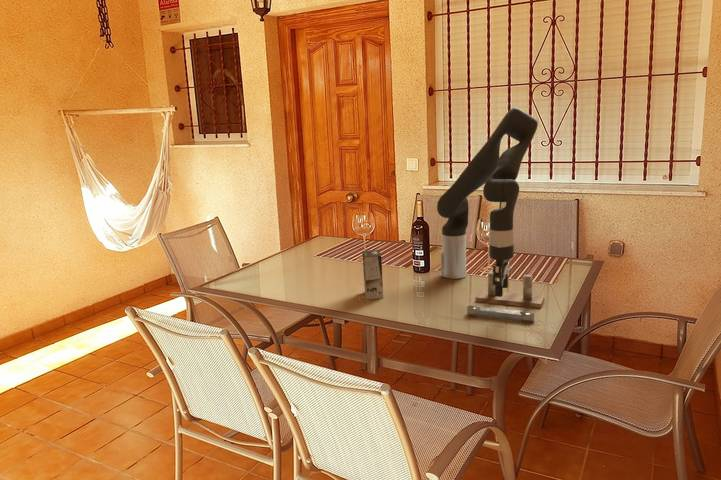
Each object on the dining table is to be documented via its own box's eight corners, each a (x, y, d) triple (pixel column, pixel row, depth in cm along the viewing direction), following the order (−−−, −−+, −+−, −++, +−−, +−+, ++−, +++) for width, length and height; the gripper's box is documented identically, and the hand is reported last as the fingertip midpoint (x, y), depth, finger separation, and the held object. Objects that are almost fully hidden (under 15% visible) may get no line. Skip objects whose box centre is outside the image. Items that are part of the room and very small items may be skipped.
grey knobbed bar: (465, 316, 191) (465, 309, 191) (469, 311, 195) (469, 304, 195) (532, 324, 182) (533, 316, 182) (535, 319, 186) (535, 311, 186)
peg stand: (475, 301, 204) (475, 275, 202) (480, 293, 211) (480, 268, 209) (540, 308, 195) (541, 281, 192) (544, 300, 202) (544, 273, 199)
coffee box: (383, 298, 212) (381, 255, 208) (366, 299, 211) (364, 257, 207) (380, 290, 221) (378, 249, 217) (363, 291, 220) (361, 250, 216)
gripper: (494, 236, 191) (494, 284, 194) (484, 247, 178) (484, 298, 182) (517, 237, 188) (517, 285, 191) (509, 249, 175) (509, 300, 179)
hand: (501, 291), depth 187 cm, fingers open, 8 cm apart
